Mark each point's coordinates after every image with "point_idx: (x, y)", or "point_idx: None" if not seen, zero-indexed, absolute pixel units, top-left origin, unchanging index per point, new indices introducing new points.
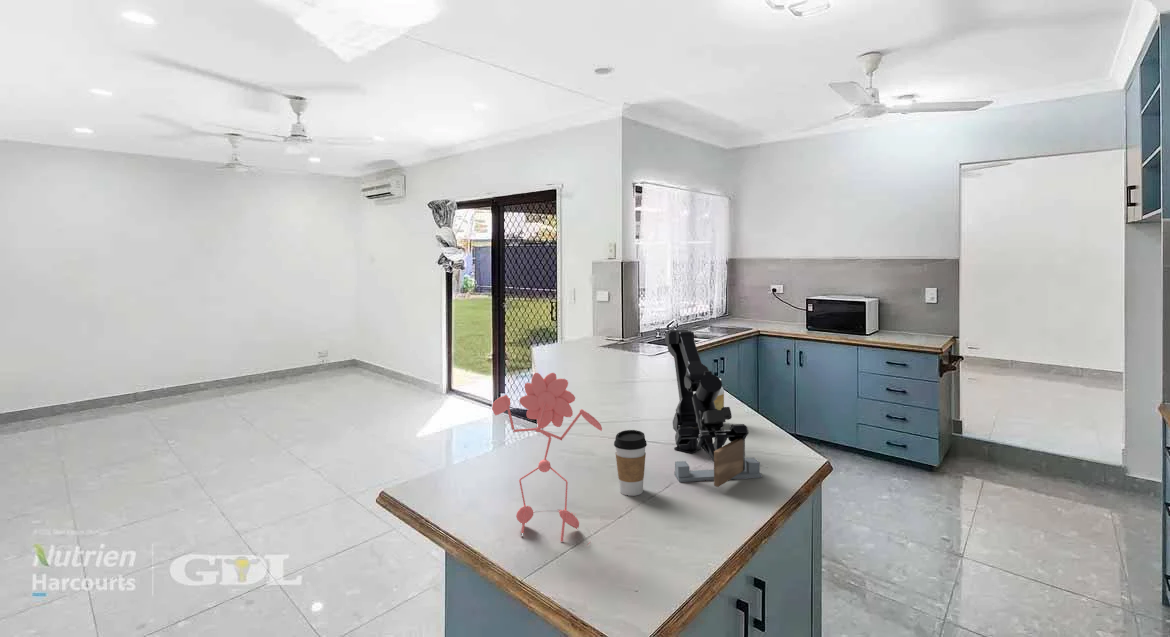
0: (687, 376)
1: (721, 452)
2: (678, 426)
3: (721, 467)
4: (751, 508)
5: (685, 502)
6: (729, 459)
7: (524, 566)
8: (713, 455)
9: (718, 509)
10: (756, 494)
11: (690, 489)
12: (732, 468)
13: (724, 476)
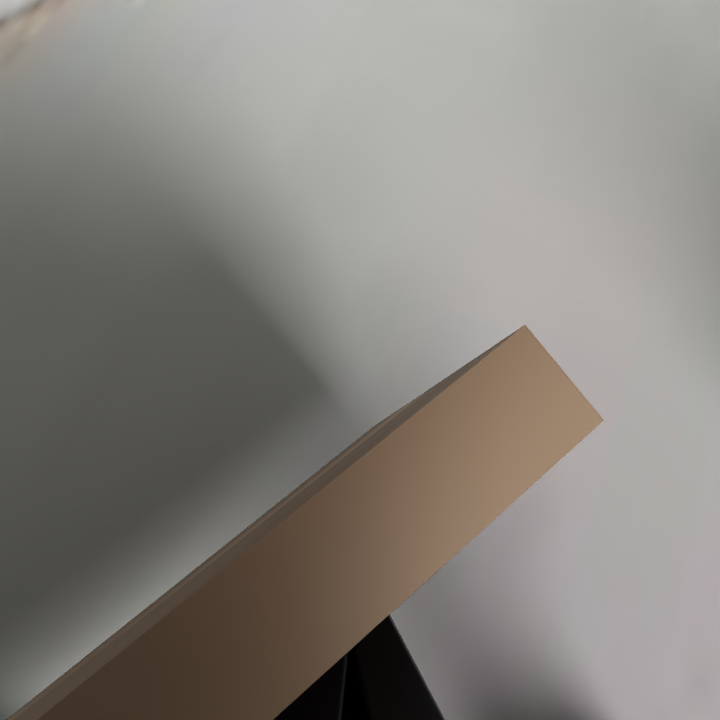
0: None
1: (384, 437)
2: None
3: (342, 457)
4: (234, 85)
5: (692, 322)
6: (89, 662)
7: None
8: (434, 700)
9: (488, 144)
10: (28, 307)
11: (588, 571)
12: (51, 687)
13: (265, 514)
